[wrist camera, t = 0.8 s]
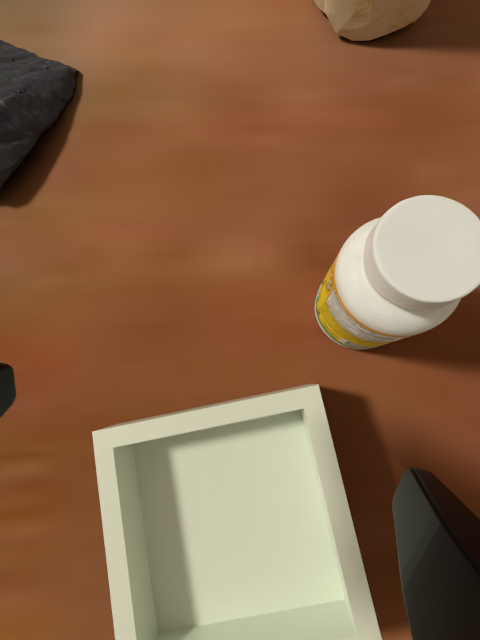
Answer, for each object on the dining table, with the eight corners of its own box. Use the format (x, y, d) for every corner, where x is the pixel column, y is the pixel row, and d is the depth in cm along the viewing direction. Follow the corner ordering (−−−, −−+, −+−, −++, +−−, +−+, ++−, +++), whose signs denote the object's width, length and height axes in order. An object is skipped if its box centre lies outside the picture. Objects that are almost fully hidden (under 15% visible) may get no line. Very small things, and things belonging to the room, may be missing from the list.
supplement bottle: (349, 367, 20) (422, 356, 11) (296, 298, 21) (320, 233, 12) (419, 316, 20) (550, 262, 11) (363, 251, 21) (439, 150, 12)
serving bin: (363, 604, 18) (386, 658, 14) (149, 643, 18) (122, 704, 15) (309, 383, 20) (318, 384, 17) (121, 423, 21) (92, 431, 17)
